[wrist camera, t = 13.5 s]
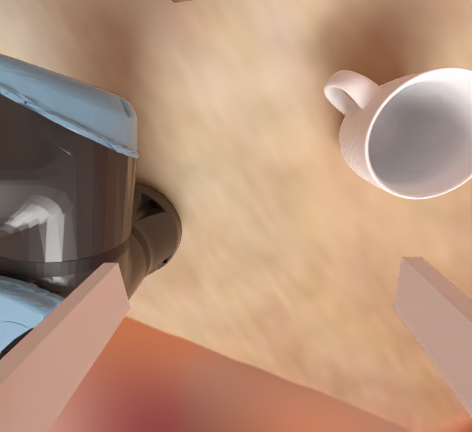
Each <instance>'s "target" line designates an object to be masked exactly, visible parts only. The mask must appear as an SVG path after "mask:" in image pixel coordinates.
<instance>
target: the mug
mask: <svg viewBox="0 0 472 432" xmlns="http://www.w3.org/2000/svg"><path fill="white" fill-rule="evenodd" d="M343 90H344V91H345V92H346V93H347V94H349V96H350V97H351V98H352V99H353V100H354V101H355V102H354V101H353V100H352V99H351V98H350V97H349V96H348V95H347V94H346V93H345V92H344V91H343ZM324 94H325V96H326V97H327V99H328V100H329V101H330V102H331V103H332V104H333V105H334V106H335V107H336V108H337V109H338V110H339V111H340V112H341V113H343V114H344V115H345V117H344V119H343V121H342V124H341V128H340V132H339V145H340V149H341V152H342V155H343V157H344V159H345V161H346V162H347V163H348V165H349V166H350V167H351V168H352V169H353V170H354V171H355V172H356V173H357V174H359V175H360V176H361V177H362V178H364V179H365V180H367V181H369V182H370V183H371V184H374V185H375V186H377V187H379V188H381V189H383V190H385V191H387V192H389V193H391V194H393V195H396V196H399V197H403V198H408V199H425V198H432V197H435V196H439V195H442V194H445V193H447V192H449V191H452V190H454V189H456V188H457V187H459V186H461V185H462V184H464V183H465V182H466V181H468V180H469V179H470V178H471V177H472V70H470V69H466V68H460V67H443V68H436V69H432V70H427V71H423V72H417V73H413V74H411V75H406V76H403V77H401V78H397V79H395V80H393V81H389V82H387V83H385V84H382V85H380V86H378V85H377V84H376V83H375V82H373V81H372V80H370V79H369V78H367V77H365V76H363V75H361V74H359V73H356V72H354V71H349V70H340V71H337V72H336V73H334V74H333V75H332V76H331V77H330V78H329V79H328V80H327V82H326V84H325V86H324Z"/></svg>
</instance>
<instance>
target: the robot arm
mask: <svg viewBox="0 0 472 432" xmlns="http://www.w3.org/2000/svg"><path fill="white" fill-rule="evenodd" d="M137 158H139V152H138V151H137V115H136V112H135V110H134V108H133V107H132V105H131V104H130V103H129V102H128V101H127V100H126V99H124V98H123V97H121V96H119V95H117V94H115V93H112V92H109V91H106V90H104V89H101V88H98V87H95V86H92V85H90V84H87V83H84V82H81V81H78V80H75V79H73V78H70V77H67V76H64V75H61V74H58V73H56V72H53V71H50V70H47V69H44V68H41V67H38V66H35V65H32V64H29V63H27V62H24V61H21V60H18V59H15V58H12V57H9V56H6V55H3V54H0V432H48V430H49V429H50V427H51V426H52V424H53V423H54V421H55V420H56V418H57V417H58V415H59V414H60V412H61V411H62V410H63V408H64V406H65V405H66V403H67V402H68V400H69V399H70V398H71V396H72V394H73V393H74V392H75V390H76V389H77V387H78V385H79V384H80V383H81V381H82V380H83V378H84V377H85V375H86V374H87V372H88V370H89V369H90V368H91V366H92V365H93V363H94V362H95V360H96V359H97V357H98V356H99V354H100V353H101V351H102V350H103V348H104V347H105V345H106V343H107V342H108V341H109V339H110V338H111V336H112V335H113V333H114V332H115V330H116V329H117V327H118V326H119V324H120V323H121V321H122V320H123V318H124V317H125V315H126V314H127V312H128V311H129V309H130V304H129V301H128V300H129V299H130V298H131V296H132V295H133V293H134V292H135V290H136V289H137V287H138V286H139V285H140V283H141V282H142V280H143V279H144V277H146V276H148V275H149V274H151V273H153V272H155V271H156V270H158V269H160V268H161V267H163V266H164V265H166V264H167V263H168V262H169V261H170V259H171V258H172V257H173V255H174V254H175V252H176V250H177V249H178V247H179V244H180V241H181V233H182V231H181V223H180V220H179V217H178V214H177V212H176V210H175V209H174V207H173V206H172V204H171V203H170V202H169V201H168V200H167V199H166V198H165V197H164V196H163V195H162V194H161V193H159V192H158V191H156V190H154V189H153V188H151V187H148V186H146V185H143V184H139V183H135V176H136V164H137ZM393 309H394V310H395V311H396V313H397V314H398V316H399V317H400V318H401V320H402V321H403V323H404V324H405V325H406V327H407V328H408V330H409V331H410V332H411V334H412V335H413V337H414V338H415V339H416V341H417V342H418V344H419V345H420V346H421V348H422V349H423V351H424V352H425V353H426V355H427V356H428V357H429V359H430V360H431V362H432V363H433V364H434V366H435V367H436V369H437V370H438V371H439V373H440V374H441V376H442V377H443V378H444V380H445V381H446V383H447V384H448V385H449V387H450V388H451V390H452V391H453V392H454V394H455V395H456V397H457V398H458V399H459V401H460V402H461V404H462V405H463V406H464V408H465V409H466V411H467V412H468V413H469V415H470V416H471V418H472V299H470V298H469V297H468V296H467V295H466V294H465V293H463V292H462V291H461V290H460V289H459V288H457V287H456V286H455V285H454V284H453V283H452V282H450V281H449V280H448V279H447V278H446V277H444V276H443V275H442V274H441V273H440V272H438V271H437V270H436V269H435V268H434V267H433V266H431V265H430V264H429V263H428V262H427V261H425V260H424V259H423V258H422V257H402V262H401V267H400V272H399V278H398V283H397V288H396V294H395V299H394V304H393Z"/></svg>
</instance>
